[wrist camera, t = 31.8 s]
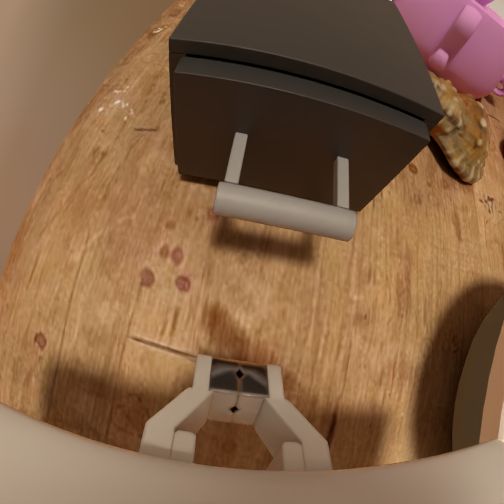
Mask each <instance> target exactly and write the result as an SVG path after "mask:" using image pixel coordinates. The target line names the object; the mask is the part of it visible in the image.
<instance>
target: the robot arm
mask: <svg viewBox="0 0 504 504" xmlns="http://www.w3.org/2000/svg"><path fill="white" fill-rule="evenodd" d="M207 420H208V421H216V422H225V423H234V424H241V425H249V426H253V428H254V430H255V431H256V433H257V434H258V436H259V437H260V439H261V440H262V442H263V443H264V445H265V446H266V448H267V449H268V451H269V452H270V454H271V455H272V457H273V460H272V461H271V463H270V464H269V466H268V467H267V469H266V470H251V469H238V468H227V467H218V466H210V465H202V464H195V463H194V452H195V442H196V436H195V434H196V433H197V432H198V431H199V430H200V429H201V427H202V426H203V425H204V424H205V423H206V422H207ZM0 504H504V442H502V441H501V440H499V439H492V440H489V441H486V442H483V443H480V444H476V445H473V446H470V447H466V448H463V449H459V450H456V451H452V452H448V453H444V454H440V455H435V456H431V457H426V458H421V459H416V460H411V461H405V462H399V463H393V464H386V465H379V466H371V467H362V468H351V469H338V470H333V467H332V462H331V457H330V451H329V446H328V442H327V441H326V439H325V438H324V437H323V436H322V435H321V434H320V433H319V432H318V431H317V430H316V429H315V428H314V427H313V426H312V425H311V424H310V422H309V421H308V420H307V419H306V418H305V417H304V416H303V415H302V414H301V413H300V412H299V411H298V409H297V408H296V407H295V406H294V405H293V404H292V403H291V402H290V401H289V400H286V399H285V396H284V388H283V380H282V372H281V367H280V365H271V364H262V363H254V362H246V361H237V360H231V359H226V358H220V357H215V356H208V355H203V354H198V356H197V361H196V367H195V373H194V380H193V386H192V387H188V388H186V389H185V390H184V391H183V392H182V393H180V394H179V395H178V396H177V397H176V398H174V399H173V400H172V401H171V402H170V403H168V404H167V405H166V406H165V407H164V408H162V409H161V410H160V411H159V412H158V413H156V414H155V415H154V416H153V417H151V418H150V419H149V420H148V421H146V423H145V427H144V431H143V436H142V440H141V444H140V448H139V452H134V451H130V450H127V449H123V448H119V447H115V446H112V445H108V444H105V443H102V442H98V441H95V440H92V439H89V438H86V437H83V436H80V435H77V434H74V433H72V432H69V431H66V430H63V429H61V428H58V427H56V426H53V425H51V424H48V423H46V422H43V421H41V420H39V419H36V418H34V417H32V416H29V415H27V414H25V413H23V412H21V411H19V410H16V409H14V408H12V407H10V406H8V405H6V404H4V403H2V402H0Z"/></svg>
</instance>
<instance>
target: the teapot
mask: <svg viewBox="0 0 504 504" xmlns="http://www.w3.org/2000/svg"><path fill="white" fill-rule="evenodd" d="M492 1H493V0H392V2H394V3H395V4H396V6H397V8H398V10H399V12H400V13H401V15H402V17H403V19H404V21H405V23H406V25H407V27H408V28H409V30H410V32H411V34H412V36H413V38H414V41H415V43H416V45H417V47H418V49H419V51H420V53H421V56H422V58H423V60H424V62H425V65H426V67H427V69H428V70H429V71H431V72H433V73H434V74H435V75H436V76H437V77H439V78H443V79H444V80H445V81H446V80H449V81H451V83H452V85H453V87H455V88H456V90H457V91H458V92H460V93H463V94H467V93H469V94H471V95H472V96H474V98H475V99H478V98H482V97H485V96H487V95H489V94H490V93H491V92H493V93H494V94H495V95H497V96H500V97H502V96H504V87H503V89H499V88H497V87H496V86H497V85H498V83H499V82H500V83H501V84H502V85H503V86H504V20H503V19H502V18H501V17H500V16H499V15H498V14H497V13H496V12H495V11H493V10H492V9H491V8H490V7H489V6H487V4H488V3H490V2H492Z"/></svg>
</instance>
